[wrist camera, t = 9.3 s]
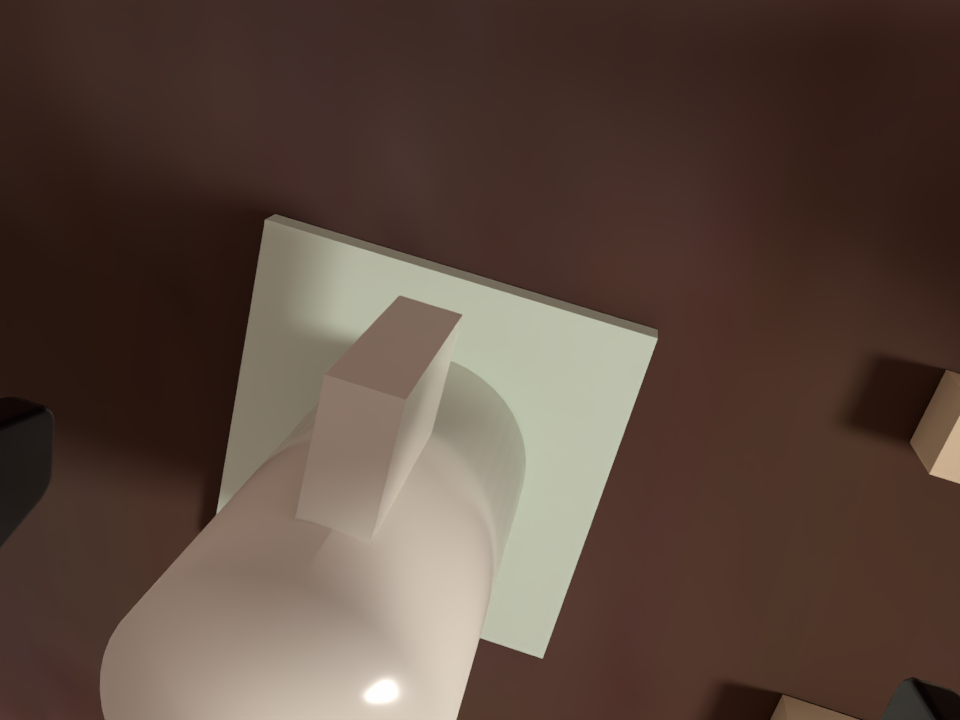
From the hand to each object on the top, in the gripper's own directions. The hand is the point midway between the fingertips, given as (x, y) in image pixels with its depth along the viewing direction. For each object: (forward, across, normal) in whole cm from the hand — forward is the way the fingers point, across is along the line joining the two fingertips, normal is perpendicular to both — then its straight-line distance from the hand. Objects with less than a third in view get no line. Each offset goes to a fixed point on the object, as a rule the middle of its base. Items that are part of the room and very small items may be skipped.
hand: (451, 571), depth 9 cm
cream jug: (+11, +2, +4) cm, 12 cm away
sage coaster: (+12, +2, +5) cm, 13 cm away
